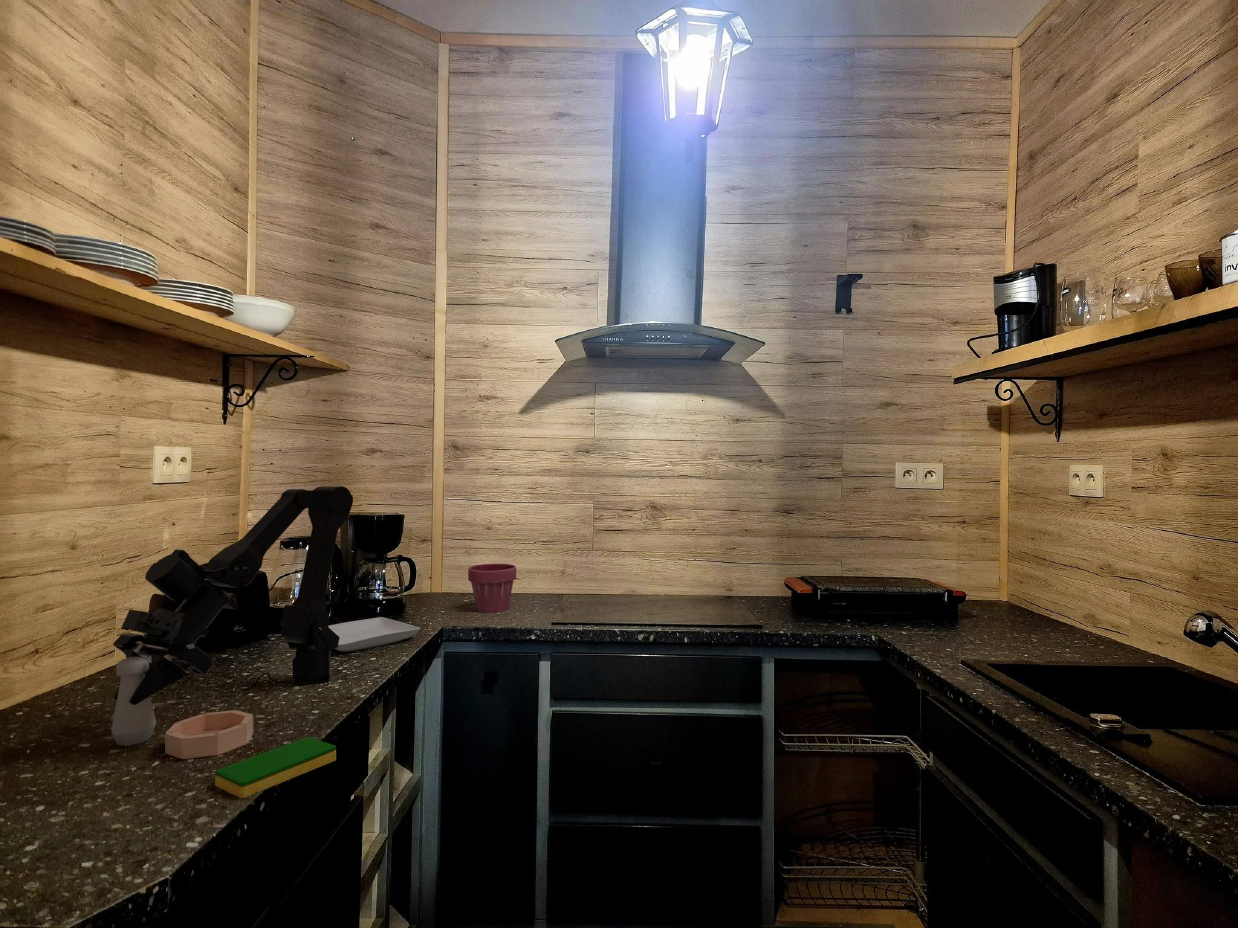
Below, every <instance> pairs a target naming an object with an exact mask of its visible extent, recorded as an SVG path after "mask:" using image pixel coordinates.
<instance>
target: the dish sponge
mask: <svg viewBox="0 0 1238 928" xmlns="http://www.w3.org/2000/svg"><path fill="white" fill-rule="evenodd" d="M336 749H337V745H334V744H331V743H329V742H325V741H322V740H320V739H316V738H314V737H311V736H307V737H304V738H301V739H298V740H296V741H292V742H290V743H287V744H285V745H281V746H278V747H277V748H274V749H271V750H268V751H266V752H263V753H260V754H257V755H254V756H252V757H249V758H246V759H244V760H240V761H239V762H236V763H232V764H229V765H226V766H224V767H221V768H219V769H216V770H215V772H214V774H215V776H214V778H215V779H214V783H215V784H214V785H215V787H217V788H219V789H221V790H224V791H225V792H227V793H229V794H231V795H233V794H234V795H233V796H235V795H236V797H237V796H238V798H240V799H245V798H247V797H249V795H250V796H251V795H254V794H257V793H259V792H262V791H264V790H267V789H269V788H271V787H274V786H276V785H277V786H278V785H279V784H282V783H284V782H286V781H289V780H291V779H293V778H296V777H298V776H301V775H303V774H306V773H308V772H311V771H313V770H316V769H318V768H320V767H322V766H326V765H329V764H331V763H333V762H336V761H337V750H336ZM256 792H257V793H256ZM243 797H244V798H243Z"/></svg>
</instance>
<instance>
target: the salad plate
mask: <svg viewBox="0 0 1238 928" xmlns="http://www.w3.org/2000/svg"><path fill="white" fill-rule="evenodd" d="M328 627H329V628H330V629H331V630H332V631H333V632H334V633H335V634H337V635H338V636H339V638H340V639H339V643H338V647H337V648H335V649H334V650H336V651H338V652H345V653H347V652H348V653H349V652H355V651H360V650H361V651H362V650H364V649H365V650H366V649H369V648H375V647H379V646H385V645H389V644H393V643H398V642H401V641H403V640H405V639H408V638H410V637H412V636H414V635H416V634H417V633H418V632H419V631H420V630H421V628H420V627H419V626H416V625H412V624H410V623H409V624H408V623H405V622H403V621H398V620H394V619H391V618H386V617H383V616H380V617H373V618H367V619H365V618H364V619H360V620H353V621H345V622H340V623H336V624H330V625H328Z"/></svg>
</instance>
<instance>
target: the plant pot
mask: <svg viewBox="0 0 1238 928" xmlns="http://www.w3.org/2000/svg"><path fill="white" fill-rule="evenodd" d="M467 573H468V574H467V576H468V577H467V579H468V581H469V582H470V583H471V587H472V593H473V598H474V601H475V606H476V611H478V612H480V613H487V614H491V613H494V614H495V613H501V612H504V611H507V610H509V605H510V602H511V601H510V600H511V597H512V592H513V591H512V590H513V586H514V581H515V580H516V579H517V566H516V565H514V564H509V563H484V564H483V563H481V564H475V565H471V566H469V567H468V569H467Z"/></svg>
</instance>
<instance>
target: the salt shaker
mask: <svg viewBox="0 0 1238 928" xmlns="http://www.w3.org/2000/svg"><path fill="white" fill-rule="evenodd" d="M148 670H149V661H148V659H147V658H146V657H130V658H123V659H121V660H119V661H118V662H117V663H116V667H115V672H116V675H117V677H120V682H119V684H120V686H119V685H118V686H119V691H118V697H117V700H116V704H115V707H114V708H115V709H114V714H113V719H112V724H111V728H110V729H111V735H112V736H113V738H114V740H115V742H116V744H117V746H124V747H129V746H133V745H138V744H142V743H144V742H146V741H148V740H149V739H151V737H152V734H153V732H154V729H155V728H156V726H157V725H156V724H157V719H156V716H155V711H154V707H153V704H152V699H151V696H150V697H148V698H146V699H145V700H143V701H141V702H140V703H138V704H136V705H133V704H131V703H129V700H130V699H131V697H132V695H133V694H134V692H135V690H136V689H137V688H138V686H139V685H140V683H141V682H142V680H143V679H144V677H145V672H147V671H148Z"/></svg>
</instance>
